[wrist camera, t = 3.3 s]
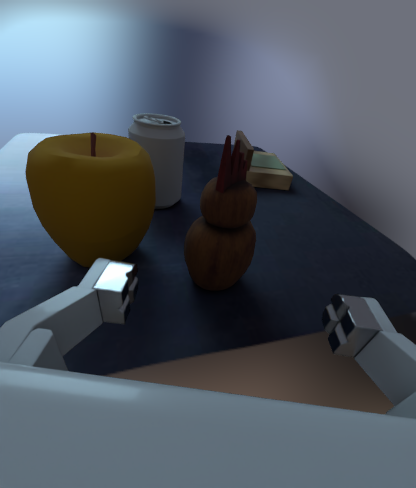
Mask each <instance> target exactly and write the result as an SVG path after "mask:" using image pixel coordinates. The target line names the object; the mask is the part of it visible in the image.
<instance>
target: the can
mask: <svg viewBox="0 0 416 488" xmlns="http://www.w3.org/2000/svg"><path fill="white" fill-rule="evenodd" d="M133 119H134V123H133V124H132V125H131V126H130V127H129V129H128V131H129V139H131V140H133V141H136V142H137V143H138V144H139V145H140V146H141V147H143V148H144V150H145V151H146V152H147V153H148V154H149V156H150V159H151V162H152V165H153V169H154V174H155V186H156V204H155V208H157V209H160V208H167V207H170V206H172V205H174V203H176V202H177V201H179V199H180V198H181V186H182V171H183V156H184V142H185V133H184V131H183V130H182V128H181V127H180V124H181V121H180V120H178V119H176V118H174V117H171V116H166V115H159V114H137V115H134V116H133Z"/></svg>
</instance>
